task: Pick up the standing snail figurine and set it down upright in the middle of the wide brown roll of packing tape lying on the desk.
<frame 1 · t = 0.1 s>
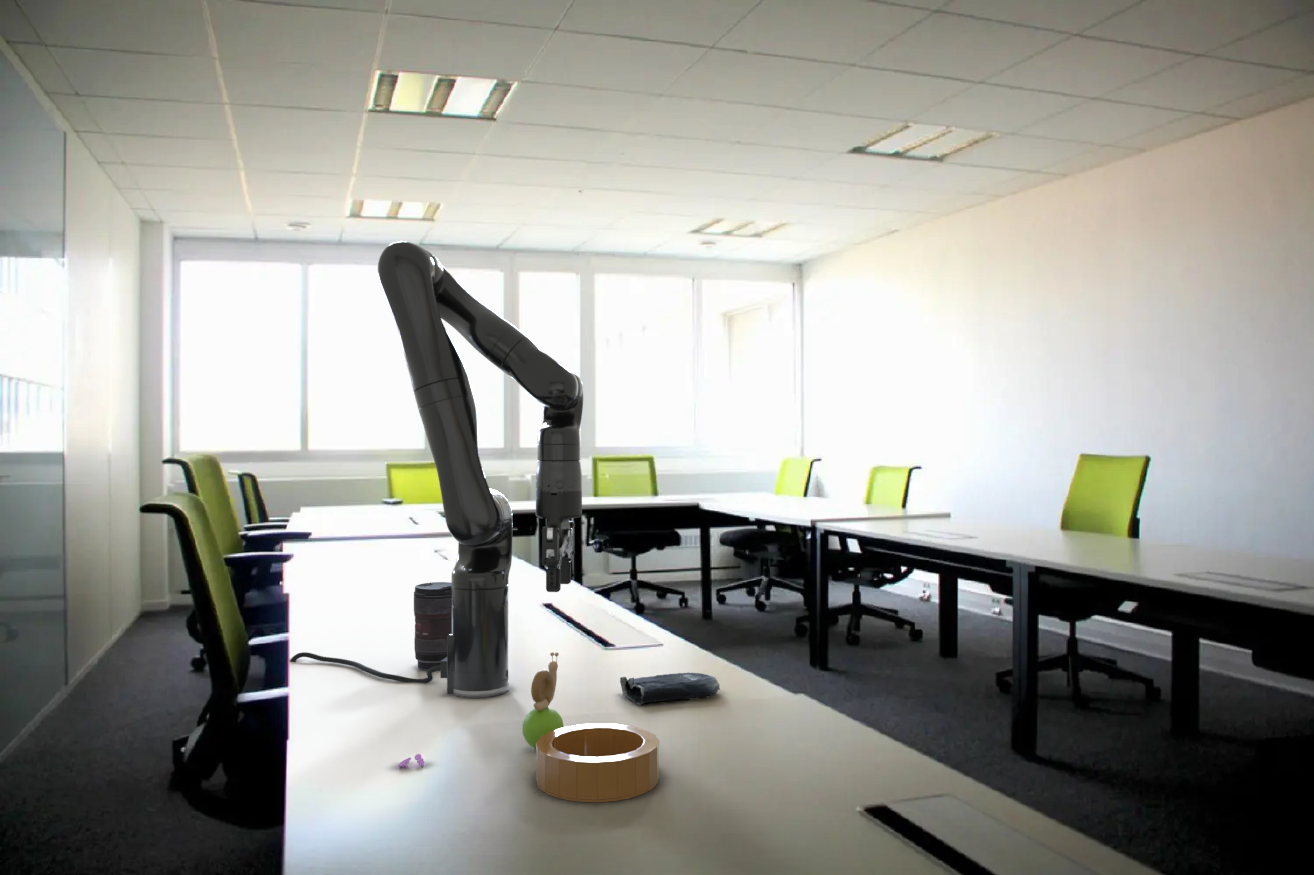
hand: (558, 587, 149), 17 cm above the table, tool pointing down, fingers open, 8 cm apart
earpods: (410, 768, 114), on the table
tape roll: (597, 779, 109), on the table
camera lens: (436, 667, 167), on the table
dark blue pouch: (673, 697, 146), on the table
snail figurine: (544, 748, 121), on the table
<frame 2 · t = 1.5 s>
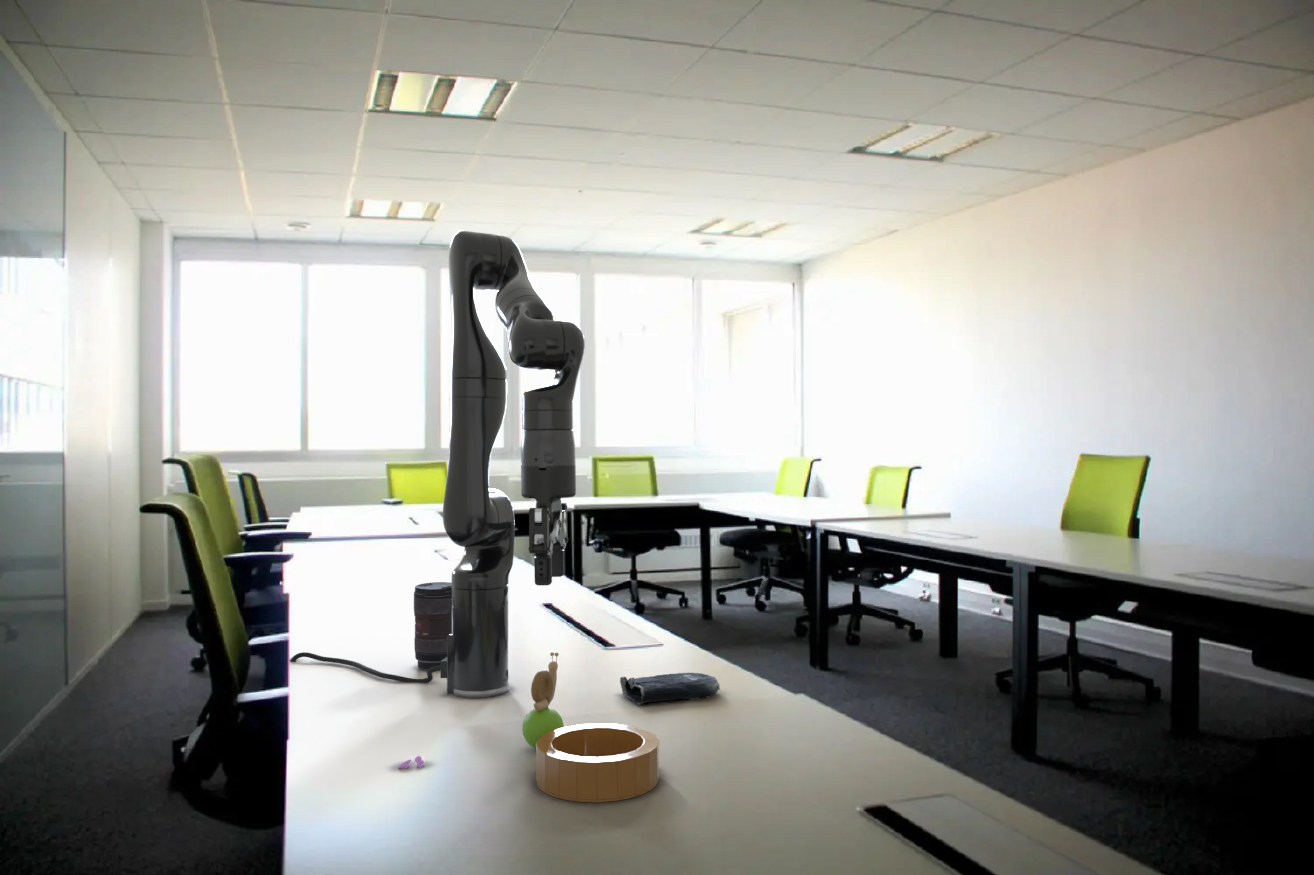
hand: (549, 580, 126), 22 cm above the table, tool pointing down, fingers open, 8 cm apart
nothing on the table moved.
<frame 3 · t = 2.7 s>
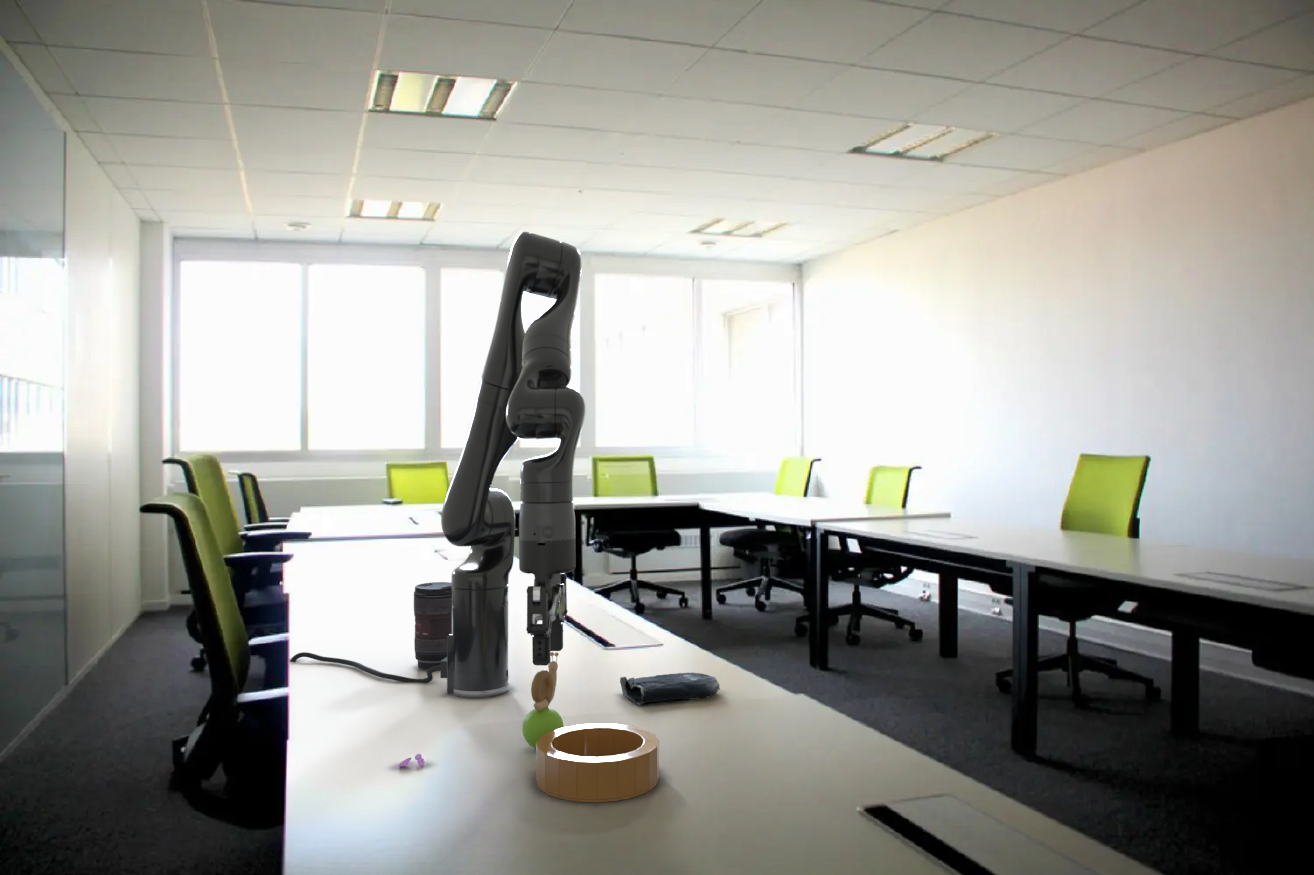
hand: (548, 657, 121), 12 cm above the table, tool pointing down, fingers open, 8 cm apart
nothing on the table moved.
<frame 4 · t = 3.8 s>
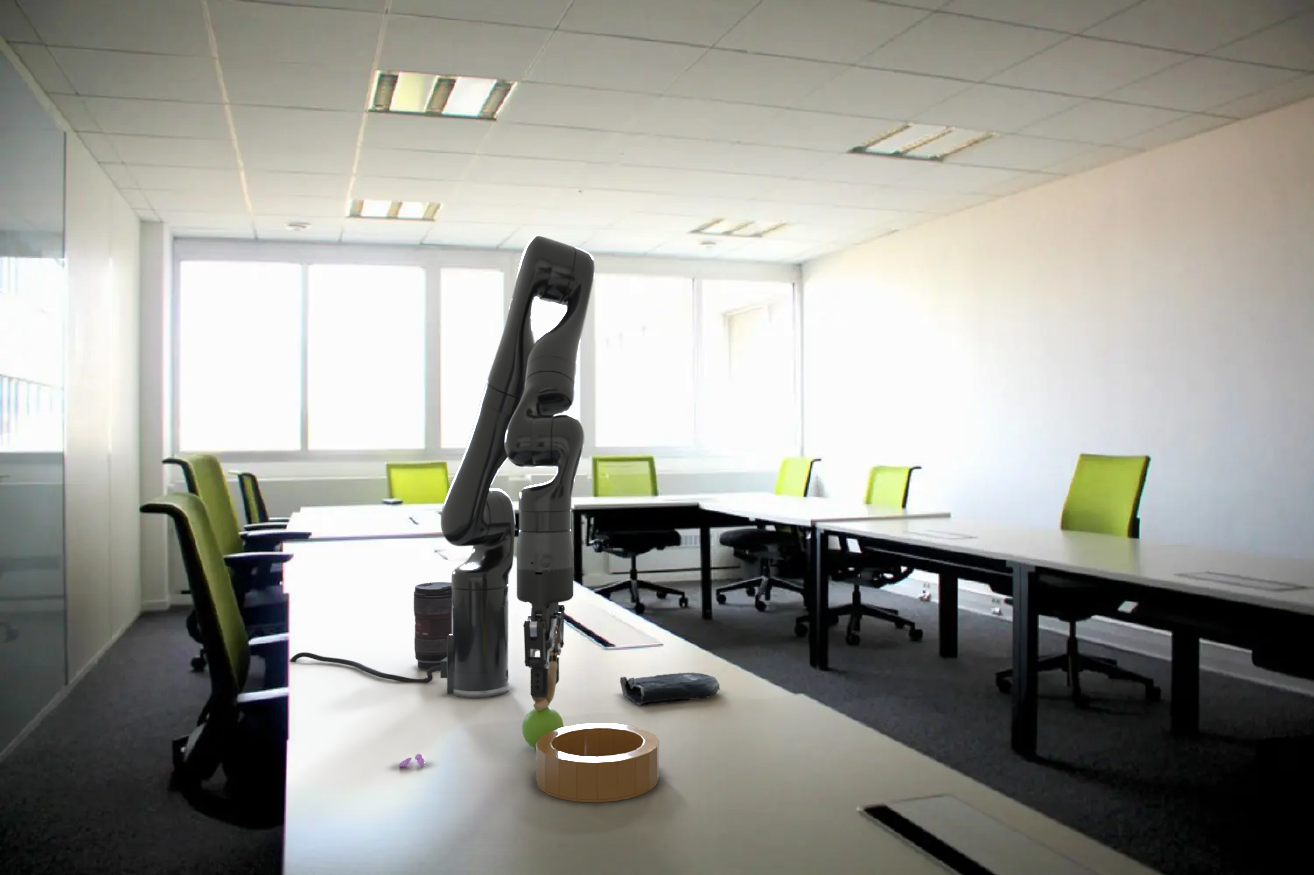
hand: (545, 689, 121), 8 cm above the table, tool pointing down, fingers closed on snail figurine, 6 cm apart
snail figurine: (544, 748, 121), on the table, touching gripper
everything else where it was.
when the fingers open (8 cm above the table, at t = 11.1 s): snail figurine stays where it is, resting on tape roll.
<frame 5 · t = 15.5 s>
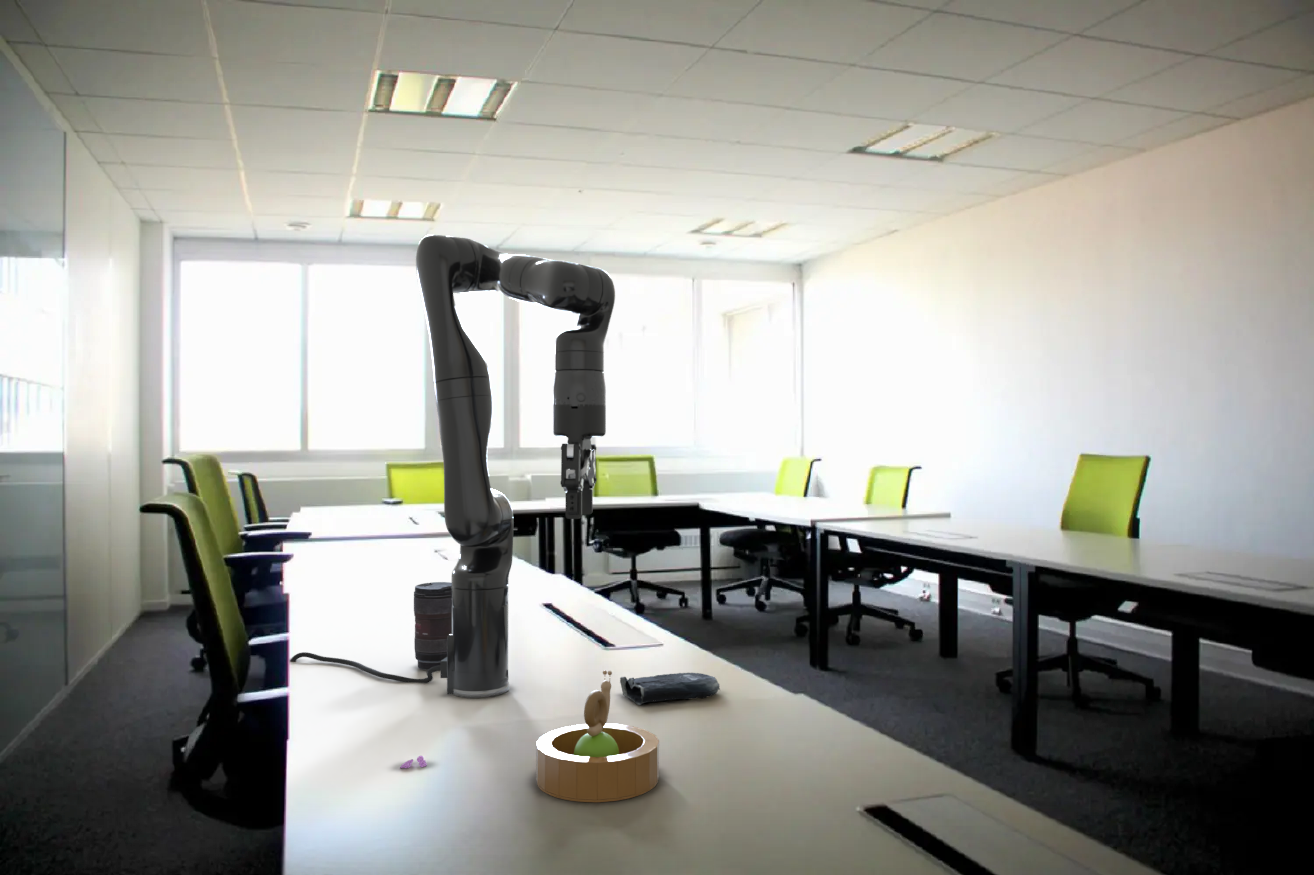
hand: (579, 516, 130), 30 cm above the table, tool pointing down, fingers open, 8 cm apart
snail figurine: (598, 777, 109), resting on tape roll
everything else where it was.
at the end: snail figurine 0.1 cm off-centre in the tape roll, point 0.1 cm above the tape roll's base; snail figurine tilted 0°; the gripper is holding nothing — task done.
